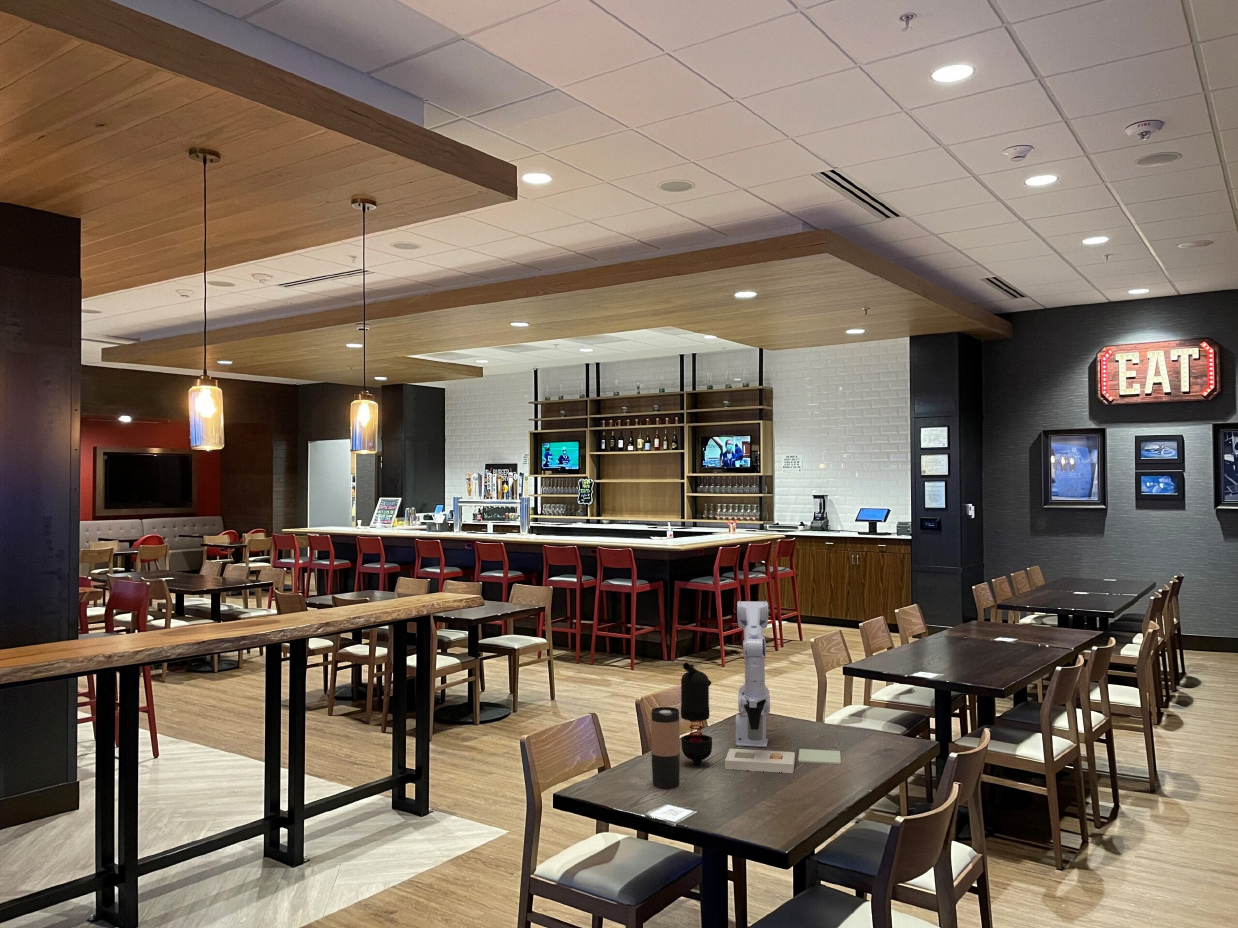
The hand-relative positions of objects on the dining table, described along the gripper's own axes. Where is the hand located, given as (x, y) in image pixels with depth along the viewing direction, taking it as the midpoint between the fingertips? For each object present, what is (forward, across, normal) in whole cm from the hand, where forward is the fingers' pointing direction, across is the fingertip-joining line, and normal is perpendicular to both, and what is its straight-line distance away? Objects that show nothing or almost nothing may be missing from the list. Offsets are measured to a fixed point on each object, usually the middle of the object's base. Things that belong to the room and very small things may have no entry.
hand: (755, 726), depth 263 cm
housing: (+10, -2, -2) cm, 11 cm away
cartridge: (+3, 0, 0) cm, 3 cm away
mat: (+10, +10, -18) cm, 23 cm away
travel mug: (+10, -25, +22) cm, 35 cm away
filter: (+10, -4, +16) cm, 20 cm away
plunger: (+10, -2, -6) cm, 11 cm away
